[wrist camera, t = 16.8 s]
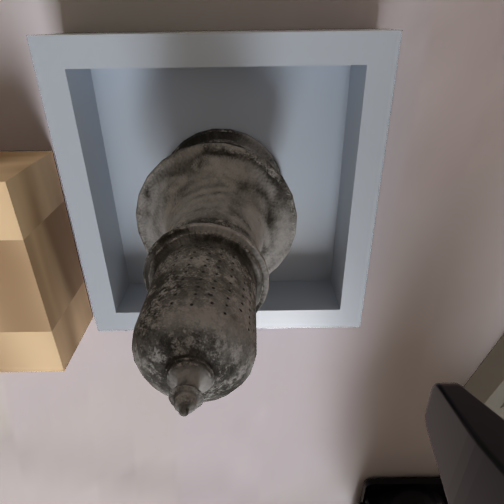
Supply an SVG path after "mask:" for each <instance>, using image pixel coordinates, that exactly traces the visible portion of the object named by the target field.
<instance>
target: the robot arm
mask: <svg viewBox="0 0 504 504" xmlns="http://www.w3.org/2000/svg"><path fill="white" fill-rule="evenodd" d="M425 420H426V426H427V430H428V433H429V437H430V441H431V444H432V448H433V451H434V455H435V459H436V462H437V466H438V469H439V473H440V476H441V478H393V479H368V480H366V481H365V482H364V485H363V490H362V496H361V501H360V502H359V503H358V504H504V419H503V418H501V417H500V416H499V415H498V414H496V413H495V412H494V411H493V410H491V409H490V408H489V407H488V406H486V405H485V404H484V403H483V402H481V401H480V400H479V399H478V398H476V397H475V396H474V395H473V394H471V393H470V392H469V391H468V390H466V389H465V388H464V387H462V386H461V385H459V384H457V383H437V384H435V385H434V386H433V388H432V391H431V395H430V398H429V402H428V406H427V409H426V414H425Z"/></svg>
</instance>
